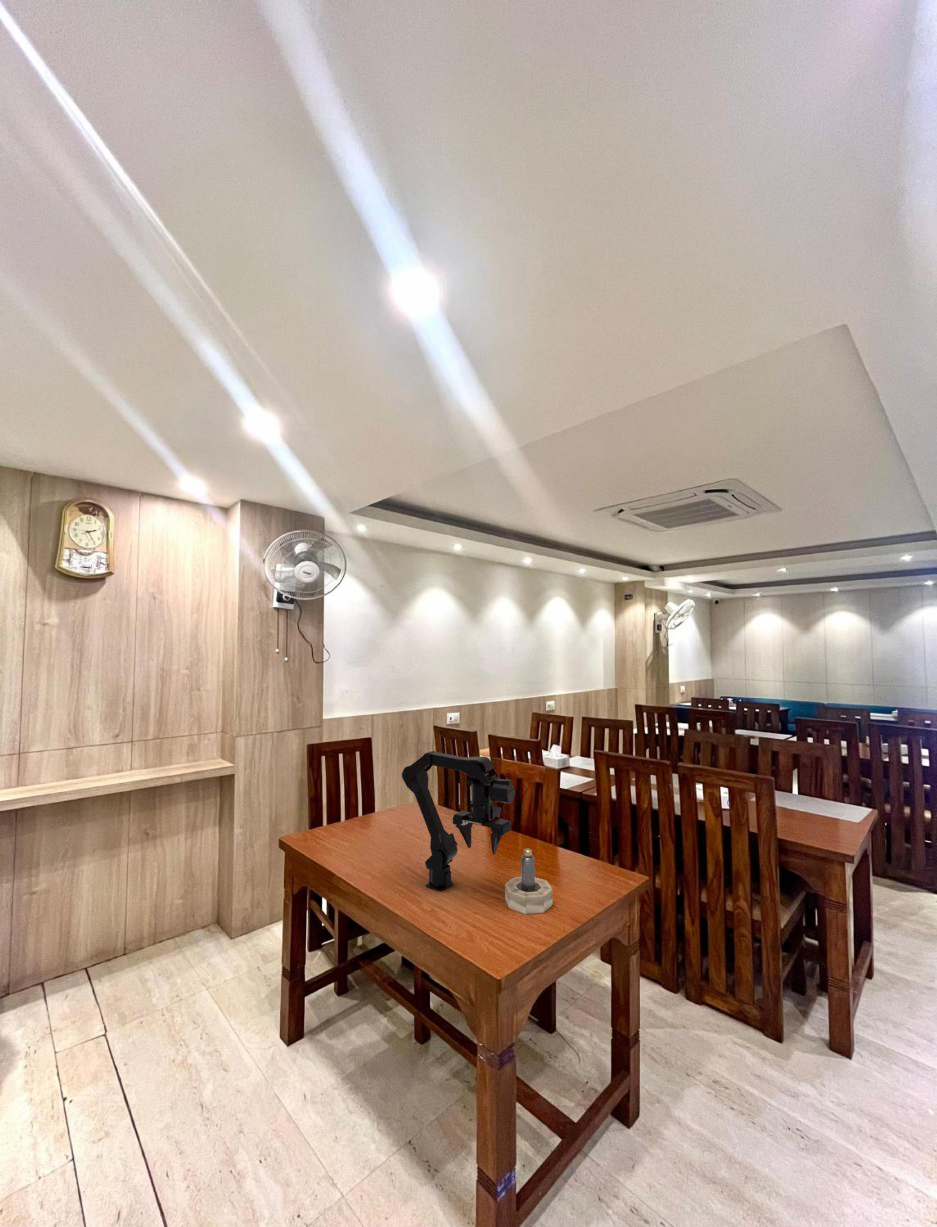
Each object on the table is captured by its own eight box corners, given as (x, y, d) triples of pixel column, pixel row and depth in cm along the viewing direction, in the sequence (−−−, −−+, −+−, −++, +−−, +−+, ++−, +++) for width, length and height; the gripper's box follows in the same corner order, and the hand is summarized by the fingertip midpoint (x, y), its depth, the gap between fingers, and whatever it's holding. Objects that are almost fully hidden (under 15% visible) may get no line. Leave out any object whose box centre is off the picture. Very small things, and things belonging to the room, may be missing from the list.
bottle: (522, 905, 147) (521, 852, 148) (521, 898, 151) (520, 847, 152) (536, 905, 147) (535, 852, 148) (534, 898, 151) (533, 847, 152)
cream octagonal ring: (498, 904, 147) (498, 889, 148) (520, 887, 158) (520, 873, 158) (538, 918, 140) (537, 901, 140) (558, 899, 150) (557, 883, 151)
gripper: (520, 797, 157) (521, 849, 156) (471, 788, 168) (471, 836, 167) (501, 806, 148) (502, 861, 147) (451, 796, 159) (451, 847, 158)
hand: (481, 850), depth 155 cm, fingers open, 9 cm apart
